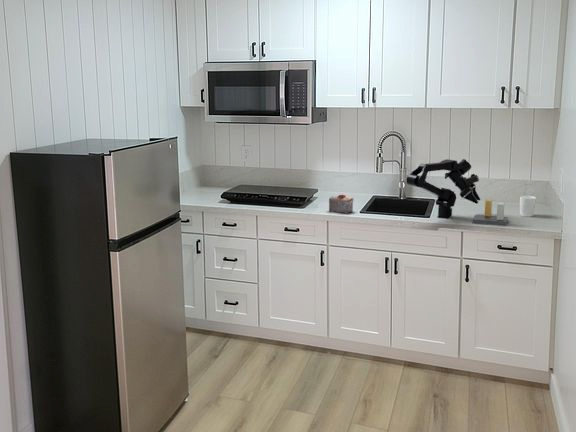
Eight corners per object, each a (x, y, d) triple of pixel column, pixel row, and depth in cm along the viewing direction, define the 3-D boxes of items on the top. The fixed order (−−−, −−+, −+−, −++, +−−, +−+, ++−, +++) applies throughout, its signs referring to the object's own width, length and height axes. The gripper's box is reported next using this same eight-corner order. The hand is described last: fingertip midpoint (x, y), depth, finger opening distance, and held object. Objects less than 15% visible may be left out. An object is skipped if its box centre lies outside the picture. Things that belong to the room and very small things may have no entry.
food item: (355, 211, 331) (355, 194, 329) (350, 214, 324) (350, 196, 322) (332, 209, 337) (332, 192, 335) (327, 212, 330) (327, 195, 328)
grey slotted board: (472, 223, 299) (472, 219, 298) (475, 218, 309) (475, 214, 308) (505, 225, 292) (505, 221, 292) (507, 220, 302) (507, 216, 302)
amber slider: (484, 216, 303) (485, 201, 301) (485, 214, 306) (486, 199, 305) (490, 216, 302) (491, 201, 300) (491, 215, 305) (492, 199, 303)
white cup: (536, 215, 314) (538, 196, 311) (531, 217, 308) (532, 199, 306) (521, 213, 319) (523, 195, 316) (516, 215, 313) (517, 197, 311)
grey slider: (496, 219, 295) (497, 204, 293) (497, 218, 298) (498, 202, 297) (502, 220, 294) (504, 204, 292) (503, 218, 297) (504, 203, 295)
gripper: (467, 172, 299) (488, 194, 297) (472, 167, 316) (492, 188, 314) (451, 186, 304) (471, 208, 302) (456, 180, 321) (476, 202, 319)
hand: (478, 201), depth 309 cm, fingers open, 9 cm apart
